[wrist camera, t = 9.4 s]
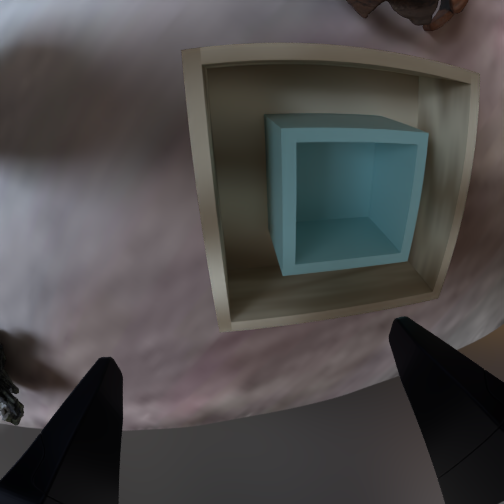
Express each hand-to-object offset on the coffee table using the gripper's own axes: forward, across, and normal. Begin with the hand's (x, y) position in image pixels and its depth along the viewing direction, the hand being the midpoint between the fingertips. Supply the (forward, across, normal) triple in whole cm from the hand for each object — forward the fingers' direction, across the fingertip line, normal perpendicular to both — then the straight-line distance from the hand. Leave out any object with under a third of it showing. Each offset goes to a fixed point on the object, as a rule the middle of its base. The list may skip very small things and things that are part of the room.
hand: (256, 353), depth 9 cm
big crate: (+12, -6, -2) cm, 13 cm away
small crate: (+11, -6, -2) cm, 12 cm away
